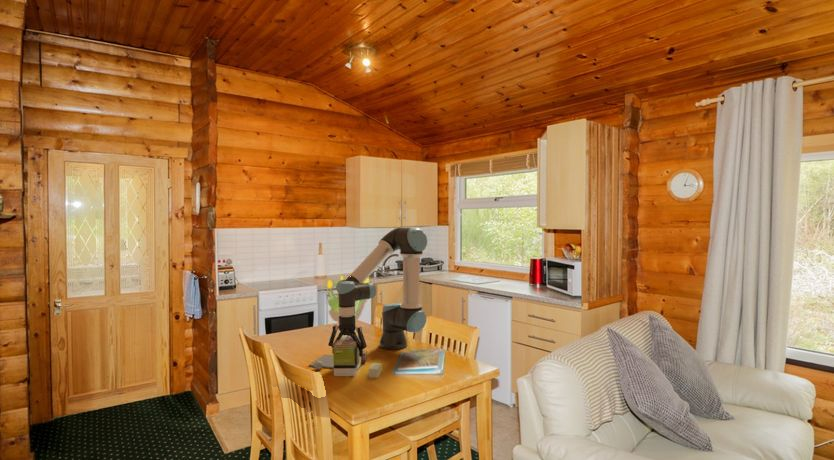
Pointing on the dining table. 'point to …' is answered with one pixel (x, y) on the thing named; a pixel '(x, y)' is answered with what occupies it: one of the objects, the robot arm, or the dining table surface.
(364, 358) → the walnut cube
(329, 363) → the slate trivet
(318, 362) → the grey rubber ball
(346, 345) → the tea box
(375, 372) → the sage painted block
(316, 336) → the dining table surface
